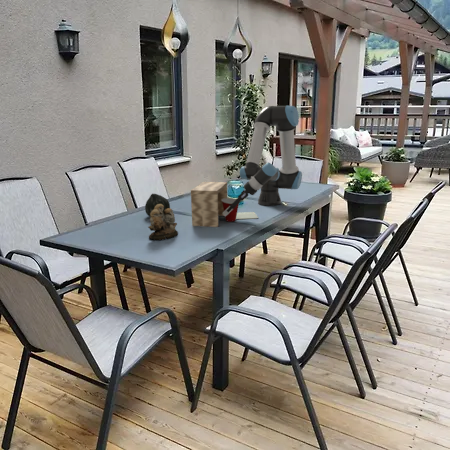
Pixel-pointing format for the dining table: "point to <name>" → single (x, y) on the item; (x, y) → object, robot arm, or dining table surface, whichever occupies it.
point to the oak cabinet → (208, 203)
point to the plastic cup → (233, 213)
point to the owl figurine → (162, 223)
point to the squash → (155, 203)
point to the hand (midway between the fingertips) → (225, 212)
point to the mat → (246, 215)
